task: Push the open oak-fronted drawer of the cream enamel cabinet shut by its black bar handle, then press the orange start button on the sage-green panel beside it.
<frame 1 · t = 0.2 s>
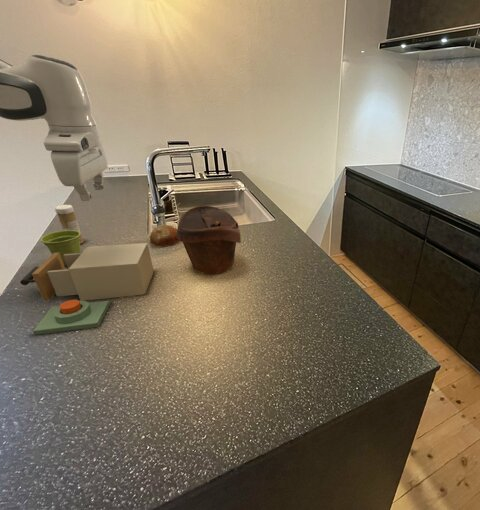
hand: (93, 194, 79), 26 cm above the worktop, tool pointing down, fingers open, 8 cm apart
cabinet: (120, 284, 88), on the worktop
chocolate muffin: (214, 265, 101), on the worktop
plant pot: (70, 261, 97), on the worktop
drawer: (70, 273, 82), point 5 cm above the worktop, slide at 6.5 cm
start button: (70, 307, 72), point 3 cm above the worktop, slide at 0.1 cm
sprinkles bottle: (76, 243, 108), on the worktop
bread roll: (167, 241, 114), on the worktop
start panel: (75, 318, 74), on the worktop
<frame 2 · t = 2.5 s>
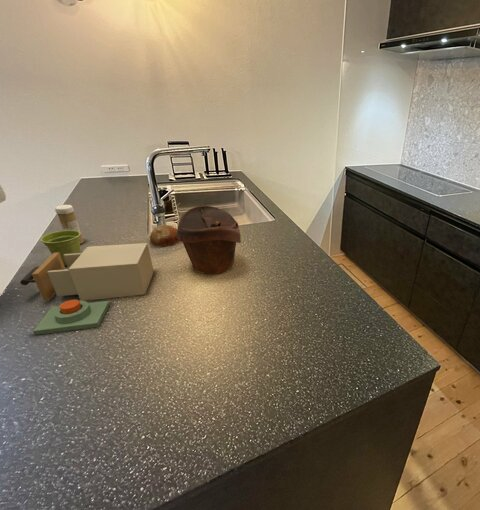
nothing on the worktop moved.
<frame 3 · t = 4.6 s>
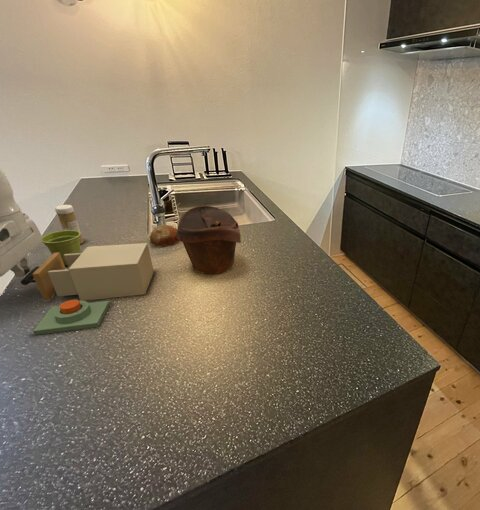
hand: (23, 274, 79), 6 cm above the worktop, tool pointing down, fingers closed, pressing on drawer
drawer: (70, 273, 82), point 5 cm above the worktop, slide at 6.4 cm, touching gripper
everything else where it was.
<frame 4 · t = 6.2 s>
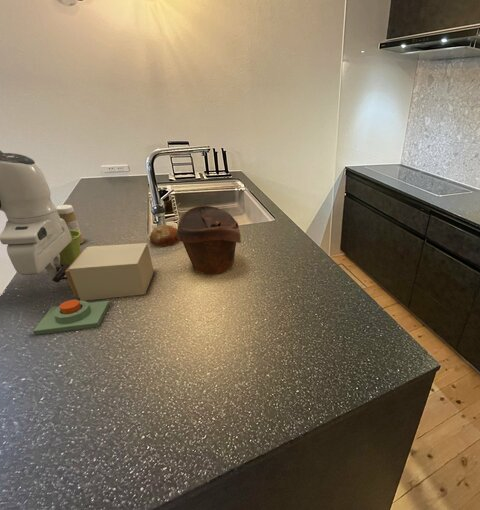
hand: (55, 272, 81), 6 cm above the worktop, tool pointing down, fingers closed, pressing on drawer
drawer: (99, 271, 84), point 5 cm above the worktop, slide at 0.0 cm, touching cabinet, gripper
everything else where it was.
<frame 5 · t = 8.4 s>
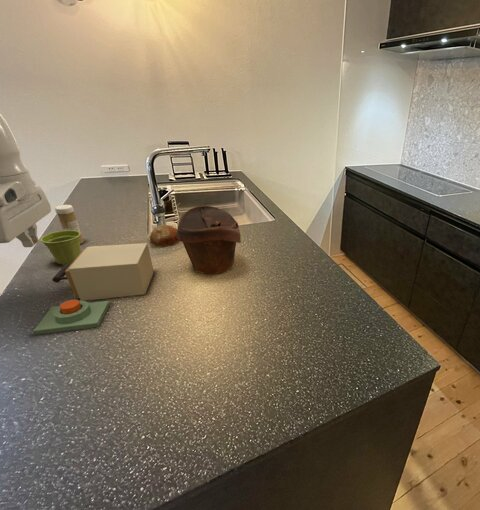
hand: (31, 244, 72), 16 cm above the worktop, tool pointing down, fingers closed
drawer: (99, 271, 84), point 5 cm above the worktop, slide at 0.0 cm
everything else where it was.
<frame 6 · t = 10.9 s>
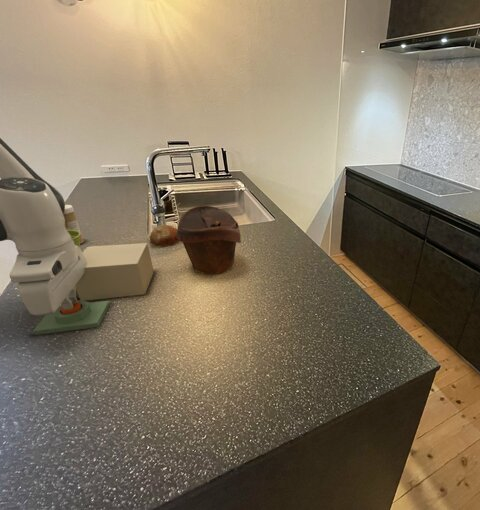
hand: (71, 306, 72), 4 cm above the worktop, tool pointing down, fingers closed, pressing on start button
start button: (71, 309, 73), point 3 cm above the worktop, slide at -0.6 cm, touching gripper
everything else where it was.
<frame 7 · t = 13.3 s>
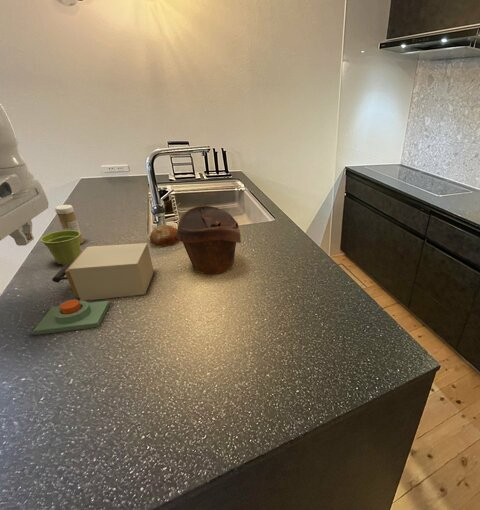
hand: (25, 242, 66), 19 cm above the worktop, tool pointing down, fingers closed
start button: (70, 307, 72), point 3 cm above the worktop, slide at 0.1 cm
everything else where it was.
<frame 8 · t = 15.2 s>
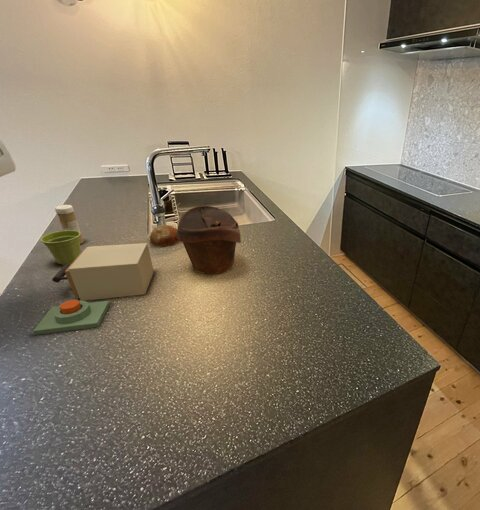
nothing on the worktop moved.
at the end: drawer slide at 0.0 cm; start button pushed in 1.0 cm at the most during the clip, back to where it started at the end; start button slide at 0.1 cm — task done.
